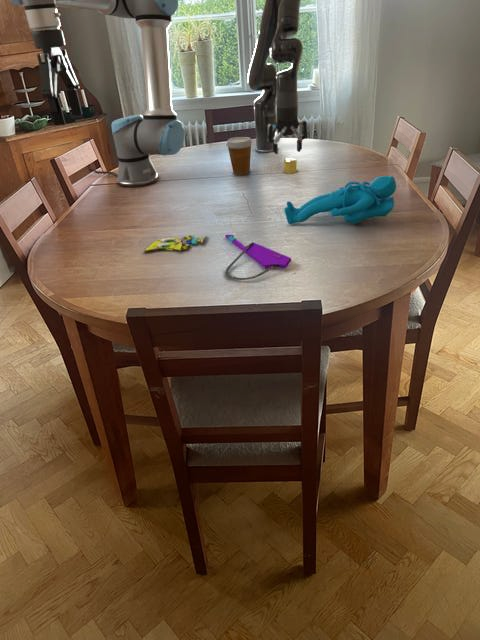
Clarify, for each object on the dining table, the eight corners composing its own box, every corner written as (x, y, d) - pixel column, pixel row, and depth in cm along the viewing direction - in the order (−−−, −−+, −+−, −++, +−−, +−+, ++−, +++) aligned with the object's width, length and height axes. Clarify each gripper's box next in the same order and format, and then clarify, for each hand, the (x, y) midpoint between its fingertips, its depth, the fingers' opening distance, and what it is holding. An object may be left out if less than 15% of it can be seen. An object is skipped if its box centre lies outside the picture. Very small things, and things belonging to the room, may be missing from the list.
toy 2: (287, 190, 142) (392, 164, 132) (296, 223, 147) (398, 200, 137) (279, 211, 128) (396, 183, 118) (290, 247, 133) (402, 223, 123)
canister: (282, 173, 179) (282, 161, 176) (286, 169, 182) (286, 157, 180) (294, 173, 177) (294, 161, 174) (298, 170, 180) (298, 158, 178)
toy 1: (199, 248, 125) (143, 249, 127) (199, 251, 125) (144, 252, 127) (206, 233, 133) (154, 234, 135) (206, 236, 133) (154, 237, 136)
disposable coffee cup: (225, 175, 181) (222, 142, 175) (234, 168, 188) (232, 136, 182) (248, 176, 178) (246, 143, 171) (257, 169, 185) (255, 136, 178)
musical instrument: (267, 291, 107) (306, 245, 119) (265, 283, 105) (305, 238, 118) (184, 277, 119) (226, 237, 132) (181, 270, 118) (225, 230, 130)
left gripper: (40, 30, 109) (66, 128, 121) (77, 26, 130) (96, 110, 142) (9, 33, 110) (37, 130, 121) (50, 28, 131) (71, 112, 142)
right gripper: (269, 108, 163) (270, 157, 172) (309, 104, 164) (309, 152, 174) (264, 105, 169) (266, 152, 178) (303, 101, 171) (303, 147, 180)
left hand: (69, 119), depth 132 cm, fingers open, 13 cm apart
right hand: (287, 152), depth 176 cm, fingers open, 8 cm apart
